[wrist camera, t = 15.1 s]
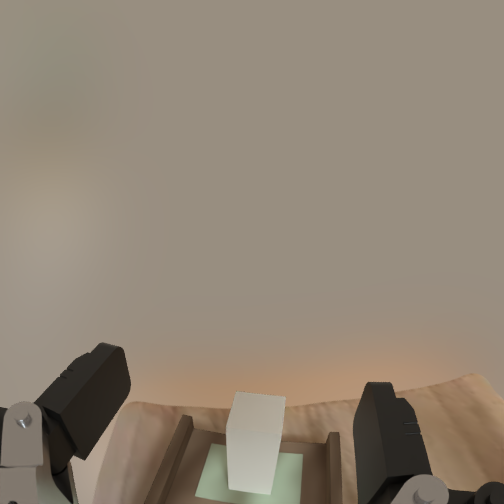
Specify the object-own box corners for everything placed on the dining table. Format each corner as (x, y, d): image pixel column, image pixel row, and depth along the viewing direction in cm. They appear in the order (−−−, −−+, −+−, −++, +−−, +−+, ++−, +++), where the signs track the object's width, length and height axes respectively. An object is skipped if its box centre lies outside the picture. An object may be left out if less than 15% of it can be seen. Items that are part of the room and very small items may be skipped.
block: (275, 463, 30) (285, 396, 26) (270, 494, 26) (281, 434, 22) (236, 458, 31) (236, 390, 27) (228, 489, 26) (225, 427, 22)
